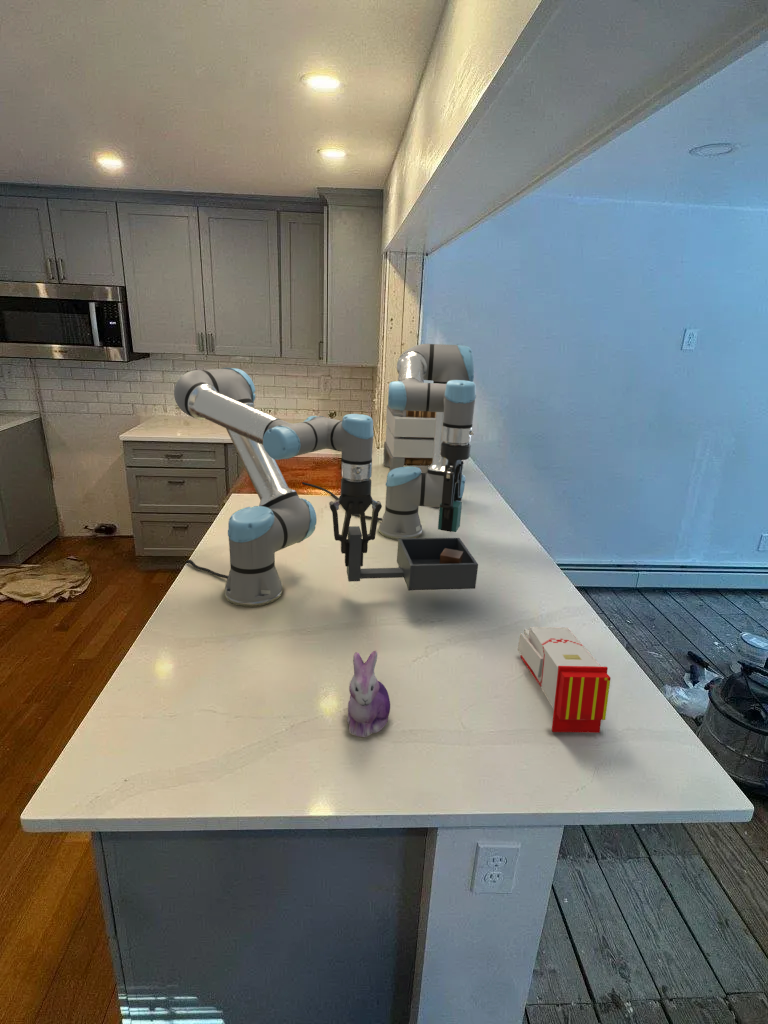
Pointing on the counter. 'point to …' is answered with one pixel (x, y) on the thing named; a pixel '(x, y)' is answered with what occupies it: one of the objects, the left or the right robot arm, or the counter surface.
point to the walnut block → (451, 556)
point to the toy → (566, 678)
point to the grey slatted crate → (409, 438)
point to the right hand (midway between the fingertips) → (448, 526)
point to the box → (417, 563)
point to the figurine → (367, 699)
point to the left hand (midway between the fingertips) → (353, 563)
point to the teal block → (456, 516)
